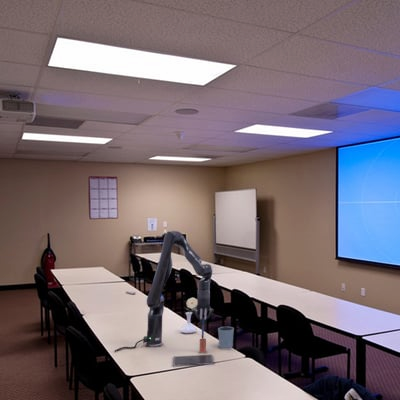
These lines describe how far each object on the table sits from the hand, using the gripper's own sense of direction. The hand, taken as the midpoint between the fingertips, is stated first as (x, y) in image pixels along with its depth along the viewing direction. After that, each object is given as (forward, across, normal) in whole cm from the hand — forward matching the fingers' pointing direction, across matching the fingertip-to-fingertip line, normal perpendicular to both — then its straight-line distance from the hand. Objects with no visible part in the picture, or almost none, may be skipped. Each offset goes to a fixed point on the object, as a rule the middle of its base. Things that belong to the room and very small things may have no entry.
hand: (202, 325), depth 259 cm
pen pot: (+17, 0, 0) cm, 17 cm away
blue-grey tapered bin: (+17, -15, -8) cm, 24 cm away
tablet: (+17, +6, +14) cm, 23 cm away
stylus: (+8, 0, 0) cm, 8 cm away
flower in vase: (+17, +7, -45) cm, 49 cm away
